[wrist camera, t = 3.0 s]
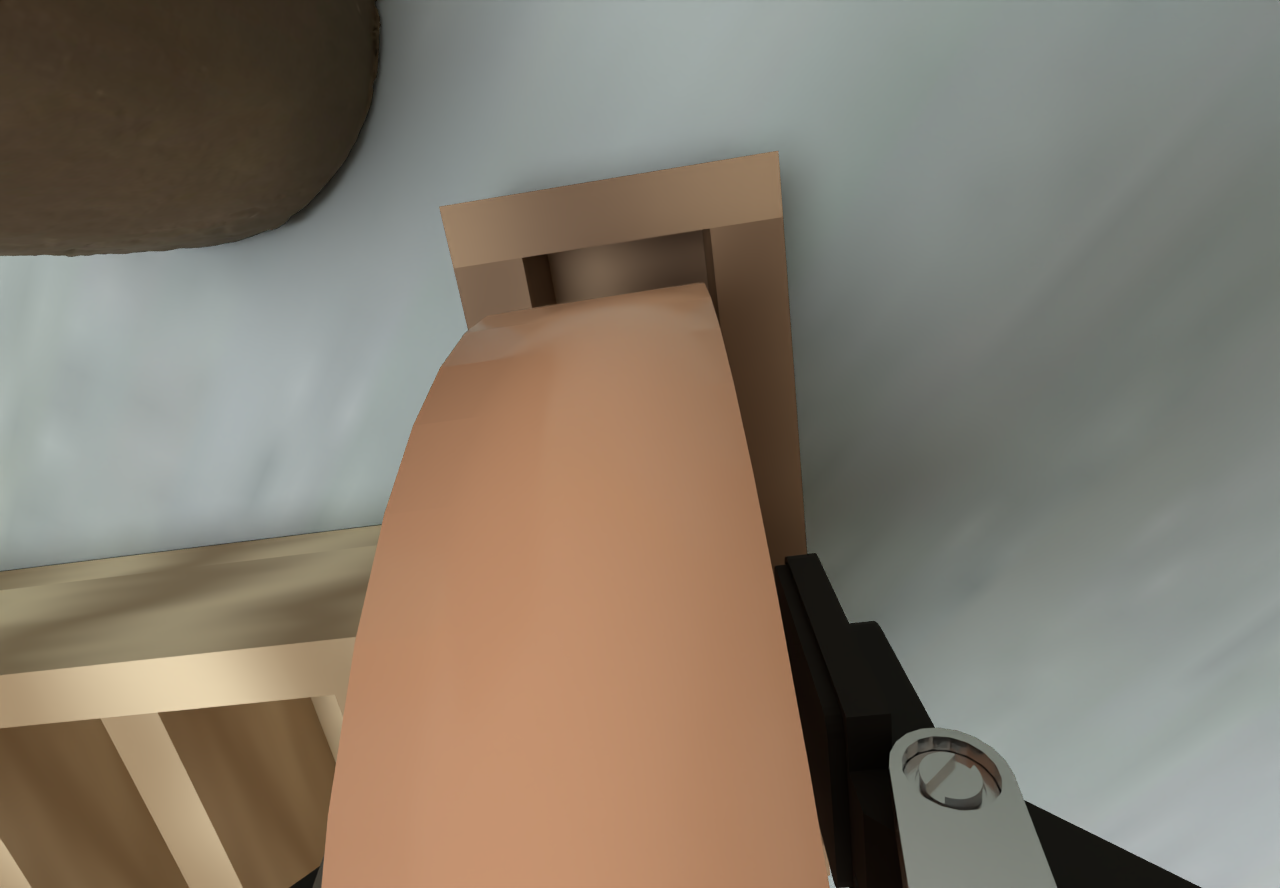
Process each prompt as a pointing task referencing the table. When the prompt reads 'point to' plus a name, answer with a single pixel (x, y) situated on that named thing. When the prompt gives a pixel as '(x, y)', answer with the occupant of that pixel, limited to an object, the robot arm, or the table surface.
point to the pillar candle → (173, 118)
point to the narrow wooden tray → (661, 285)
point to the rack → (176, 712)
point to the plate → (575, 625)
